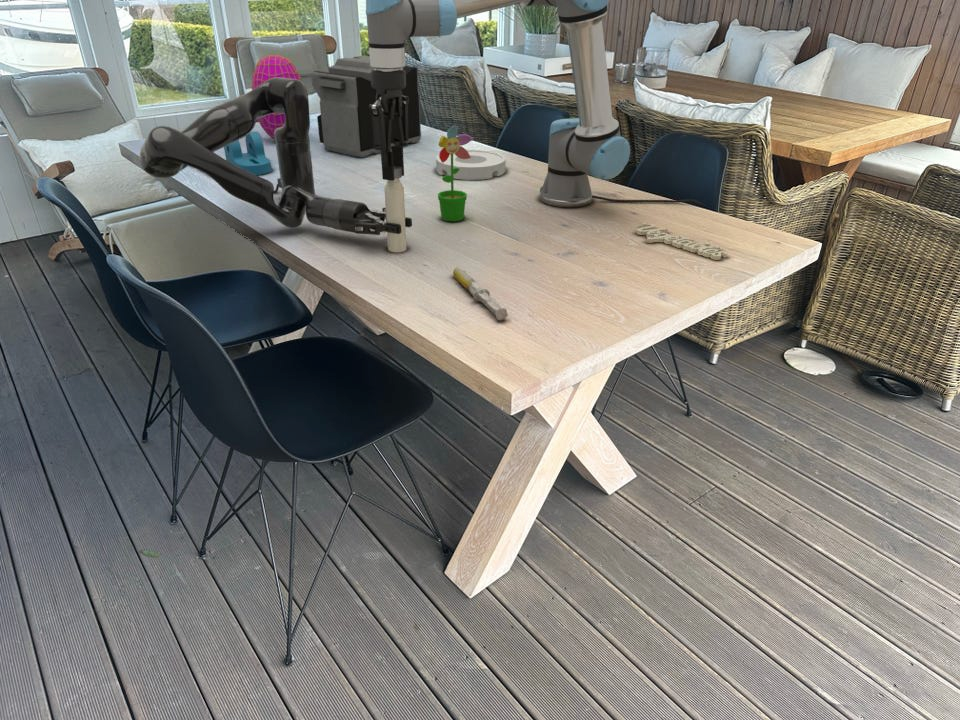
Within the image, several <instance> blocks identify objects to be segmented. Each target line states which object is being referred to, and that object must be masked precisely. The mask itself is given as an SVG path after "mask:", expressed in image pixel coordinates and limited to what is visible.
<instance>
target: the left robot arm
mask: <svg viewBox="0 0 960 720" xmlns="http://www.w3.org/2000/svg"><path fill="white" fill-rule="evenodd" d="M301 81H302V80H301ZM301 81H299V80H297V79H289V78H280V77H275V78H271V79H269V80H267V81H265V82H264V83H262V84H261V85H259V86H258V87H256V88H255V89H253V90H252V89H251V90H250V91H248V92H246V93H244V94H243V93H242V94H241V95H239V96H236V97H233V98H232V99H229V100H227V101H224V102H222V103H219V104H217V105H215V106H213V107H212V108H210V109H208V110H206V111H205V112H204V113H202V114H201V115H200V116H198V117H197V118H196V119H195V120H193V122H192V123H191V124H189V125H188V126H187V127H185V129H183V130H182V131H180V130H178V129H176V128H174V127H170V126H166V125H159V126H155V127H153V128H152V129H151V130H150V131H149V132H148V135H146V136H147V137H146V138H145V140H144V142H143V144H142V146H141V148H140V151H139V163H140V166H141V168H142V169H143V171H145V173H146V174H148V175H149V176H152V177H154V178H159V179H168V178H171V177H172V178H173V177H175V176H177V175H178V174H180V172H182V171H184V170H185V169H186V168H188V167H192V168H194V169H197V170H198V171H201V172H203V173H204V174H206V175H207V176H208V177H210V178H211V179H212V180H213V181H214V182H215V183H217V184H218V186H220V187H221V188H222V189H223V190H224V191H225V192H227V193H228V194H229V195H231V196H233V197H235V198H236V199H238V200H240V201H243V202H245V203H247V204H250V205H252V206H255V207H257V208H259V209H261V210H262V211H263V212H265V213H267V214H268V215H269V216H271V217H272V218H273V219H274V220H275V221H277V222H278V223H280V225H282V226H284V227H287V228H289V229H290V228H291V229H295V228H299V227H301V225H302V224H303V221H304V219H305V216H306V219H307V221H308V222H309V223H310V224H313V225H315V226H321V227H325V228H326V227H327V228H331V229H334V230H337V231H343V232H347V233H348V232H349V233H353V234H358V235H370V236H371V235H373V236H380V235H381V234H387V232H390V233H395V234H400V233H401V225H400V224H395V223H389V222H387V223H386V206H385V207H382V210H381V211H380V210H378V209H372V210H370V209H369V206H367V204H366V203H364V202H360V201H353V200H347V199H341V198H330V197H329V198H328V197H323V196H319V195H316V189H315V188H316V187H315V179H314V178H315V177H314V172H313V171H314V170H313V162H312V153H311V152H312V151H311V144H310V136H309V134H310V133H309V132H310V128H311V118H310V101H309V95H308V90H307V88H306V85H305V84H304V83H303V81H302V82H301ZM273 113H282V114H285V124H284V126H281V127H278V128H276V129H275V131H274V134H275V139H274V141H275V149H276V155H277V162H278V170H279V178H277V179H276V180H277V183H276V187H275V186H274V184H273V182H271V181H270V180H268V179H266V178H264V177H261V176H260V175H254V174H252V173H250V172H248V171H245V170H243V169H241V168H239V167H237V166H235V165H233V164H232V163H230V162H228V161H226V158H223V157H222V156H220V155H219V154H217V153H216V152H217V151H219V150H221V149H224V147H225V146H227V145H229V144H231V143H234V142H236V141H238V140H239V141H240V140H241V139H243V138H245V137H246V136H247V135H248V134H249V133H250V132H253V130H254V128H255V126H256V123H257V122H258V119H260V118H262V117H264V116H266V115H269V114H273ZM279 188H280V189H281V193H280V197H279V200H278V203H276V202H275V199H274V198H275V197H274V194H276V193H278V191H279ZM405 226H406V228H411V227H412V226H413V219H412V218H411V217H407V216H405Z"/></svg>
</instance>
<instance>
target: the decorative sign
mask: <svg viewBox="0 0 960 720" xmlns="http://www.w3.org/2000/svg"><path fill="white" fill-rule="evenodd" d="M636 234H637V235H640V236H645V237H646V243H647V244H653V243H663V244H666V245H671V246H672V247H675V248H678V249H682V250H684V251H688V252H689V253H695V254H697V255H699V256H703V257H705V258H711V259H712V260H715V261H720V260H721V259H722V258H727V256H728V252H727V251H724V250H721V246H720V245H711V243H710V242H697V243H696V242H695V240H694V239H693V238H691V237H685V236H683V235H679V236H675V235H673V234H669V233H668V228H667V227H659V228H656V224H653V223H647V222H646V223H645V222H643V223H642V226H641V227H639V228H637V229H636Z"/></svg>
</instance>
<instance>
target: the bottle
mask: <svg viewBox="0 0 960 720" xmlns="http://www.w3.org/2000/svg"><path fill="white" fill-rule="evenodd" d="M384 203H385V205H384V206H385V208H386V220H385V222H386V223H387V222H389V223H395V224H400V225H401V233H400V234H395V233H390V232H386V238H387V251H389V252H391V253H404V252H405V251H406V250H407V229H406V228H407V227H406V226H405V217H406V209H405V204H406V203H405V187H404V185H403V183H402V181H401V179H400V178H398V179H394V180H393V181H390V180H386V183H385V185H384Z"/></svg>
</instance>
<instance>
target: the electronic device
mask: <svg viewBox="0 0 960 720" xmlns="http://www.w3.org/2000/svg"><path fill="white" fill-rule="evenodd" d="M372 69H373V68H372V67H371V66H370V56H367V55H356V56H353V57H350V58H349V57H343V58H342V57H341V58H337V59H336V60H335V63H334V64H333V65H330V66H329V67H328V72H327V71H320V70H314V71H313V70H312V71H310V79H311V87H313V90H314V91H315V93H316V94H317V96H318V98H319V110H320V111H319V112H320V114H319V115H317V116H316V119H317V128H318V138H319V143H320V144H323V146H324V149H325V150H327V151H330V152H335V153H340V154H344V155H348V156H353V157H357V158H362V159H363V158H366V157H367V158H368V157H369V155H371V154H375V155H377V154H381V152H380V151H377V150H375V149H374V141H373V130H372V119H371V113H370V110H369V105H370V104H374V103H375V102H376V94H377V91H376V90H375V89H374V88H372V86H371V75H370V71H371V70H372ZM403 69H404V71H405V75H406V87H405V88H403V89H401V92H402V95H403V96H408V97H409V103H408V141H405V142H406V143H408V144H416V143H418V142H419V141H421V137H422V128H421V97H420V92H419V91H420V89H419V68H418V67H417V66H408V65H405V67H403ZM385 116H387V115H385ZM391 146H395V145H394V144H393V140H392V133H391Z"/></svg>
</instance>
